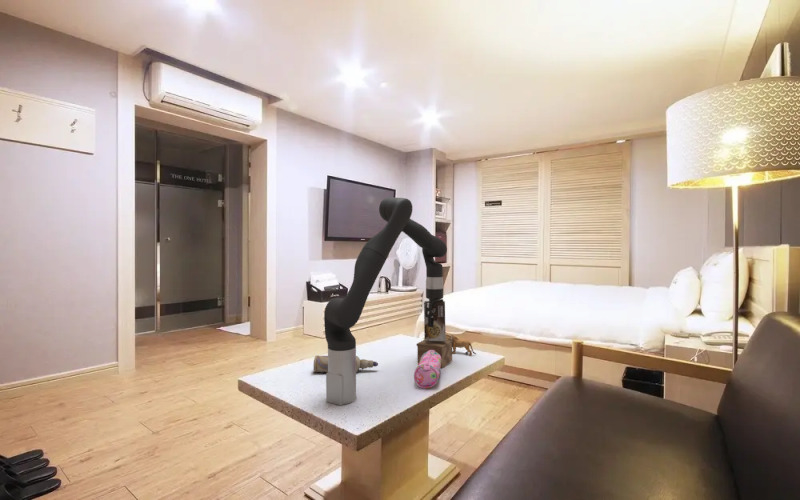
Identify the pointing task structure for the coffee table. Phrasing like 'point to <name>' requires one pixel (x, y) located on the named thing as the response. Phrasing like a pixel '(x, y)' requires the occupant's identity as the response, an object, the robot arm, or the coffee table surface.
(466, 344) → the lion figurine
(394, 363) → the coffee table surface
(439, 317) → the coffee box
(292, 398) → the coffee table surface
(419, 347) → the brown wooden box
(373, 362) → the decorative bottle
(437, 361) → the pencil case
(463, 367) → the coffee table surface
